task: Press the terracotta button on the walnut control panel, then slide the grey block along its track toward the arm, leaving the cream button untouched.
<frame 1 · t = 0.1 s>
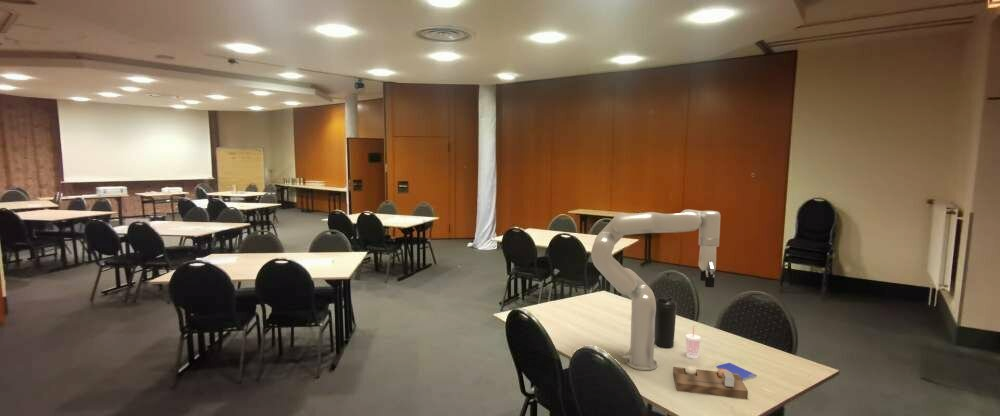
hand: (706, 283, 185), 37 cm above the table, tool pointing down, fingers open, 9 cm apart
panel: (708, 385, 176), on the table
water bottle: (663, 345, 215), on the table
terracotta button: (723, 374, 178), point 3 cm above the table, slide at 0.0 cm
cream button: (690, 371, 181), point 3 cm above the table, slide at 0.0 cm
beverage cup: (692, 356, 203), on the table
grey block: (728, 379, 171), point 5 cm above the table, slide at 0.0 cm
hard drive: (735, 374, 188), on the table
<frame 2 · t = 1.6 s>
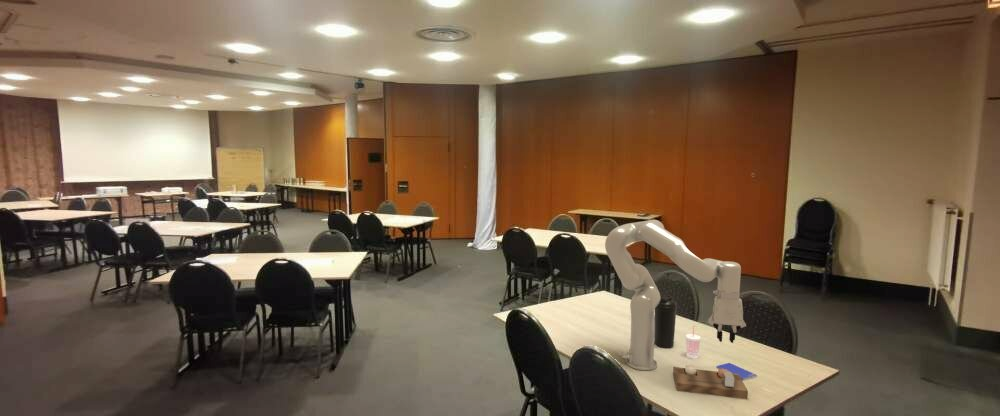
hand: (725, 340, 176), 17 cm above the table, tool pointing down, fingers open, 3 cm apart
nothing on the table moved.
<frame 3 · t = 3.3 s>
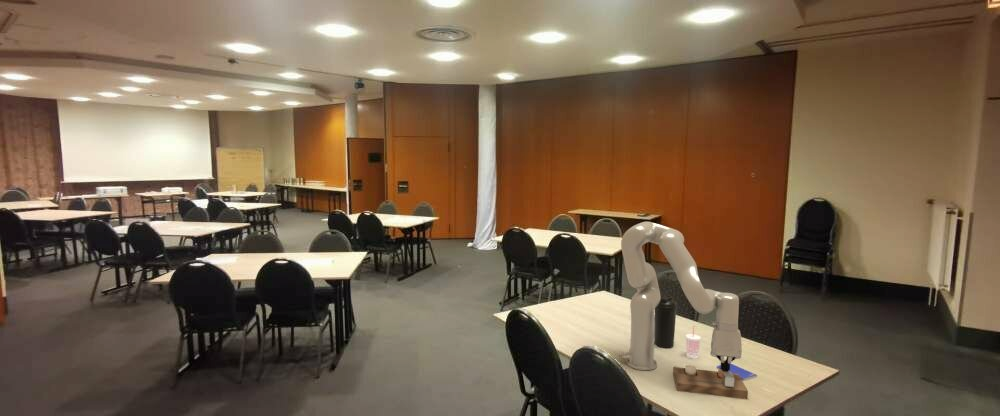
hand: (725, 371, 178), 5 cm above the table, tool pointing down, fingers closed
terracotta button: (723, 375, 178), point 3 cm above the table, slide at 0.2 cm, touching gripper
everything else where it was.
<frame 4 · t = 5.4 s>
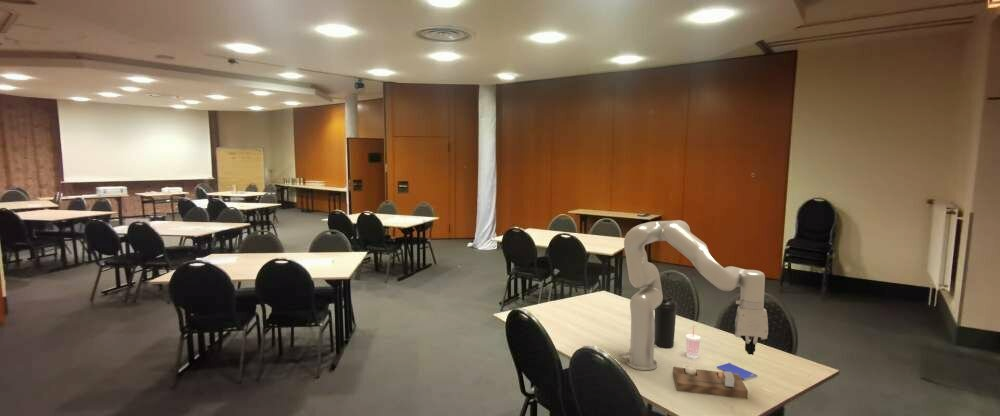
hand: (749, 353, 169), 16 cm above the table, tool pointing down, fingers closed
terracotta button: (723, 378, 178), point 2 cm above the table, slide at 1.3 cm
everything else where it was.
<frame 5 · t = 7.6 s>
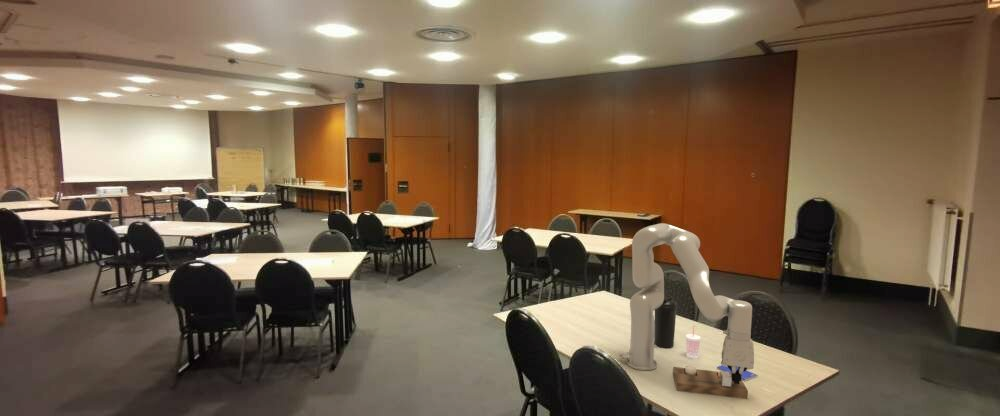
hand: (735, 382, 170), 4 cm above the table, tool pointing down, fingers closed
grey block: (725, 378, 171), point 5 cm above the table, slide at 0.9 cm, touching gripper
everything else where it was.
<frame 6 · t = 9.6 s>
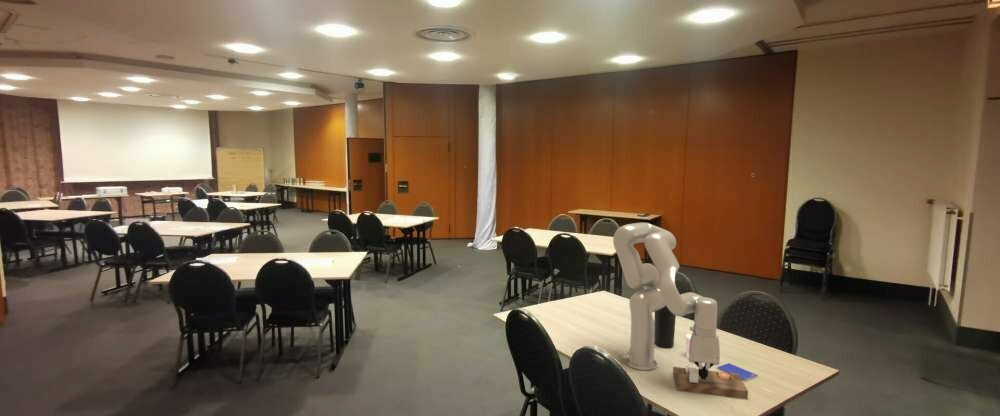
hand: (702, 378, 173), 4 cm above the table, tool pointing down, fingers closed
grey block: (692, 375, 174), point 5 cm above the table, slide at 12.2 cm, touching gripper
everything else where it was.
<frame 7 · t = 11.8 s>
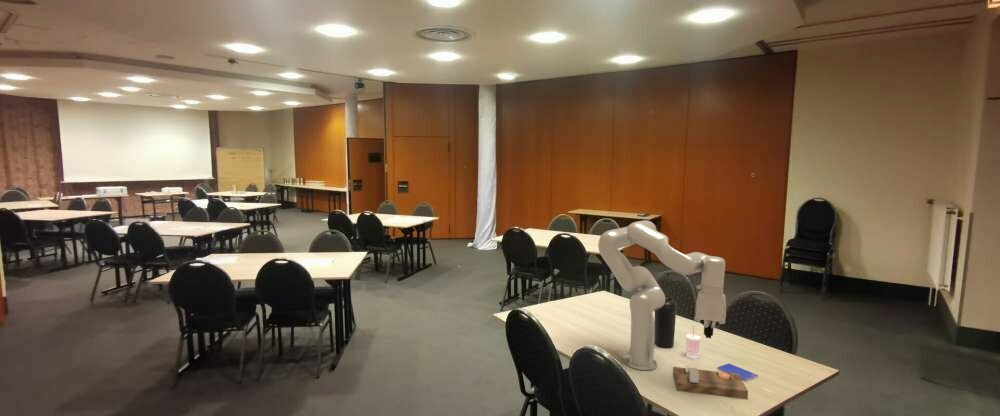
hand: (708, 336, 173), 20 cm above the table, tool pointing down, fingers closed
grey block: (693, 375, 174), point 5 cm above the table, slide at 12.1 cm
everything else where it was.
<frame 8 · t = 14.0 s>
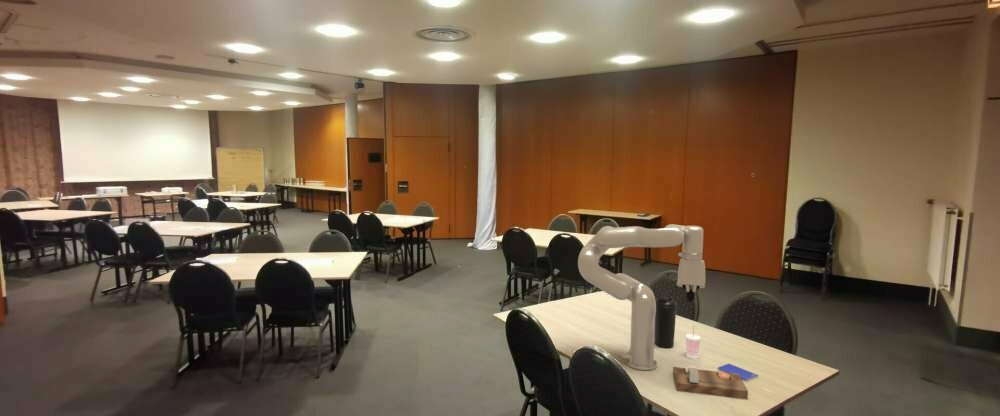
hand: (690, 300, 187), 29 cm above the table, tool pointing down, fingers closed
nothing on the table moved.
at the end: terracotta button slide at 1.3 cm; cream button slide at 0.0 cm; grey block slide at 12.1 cm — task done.
